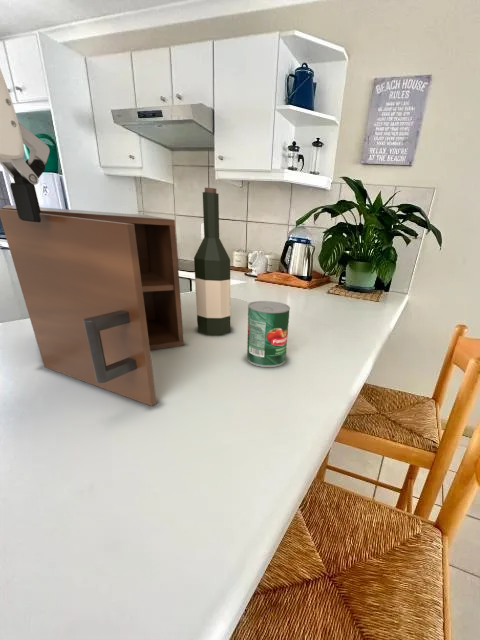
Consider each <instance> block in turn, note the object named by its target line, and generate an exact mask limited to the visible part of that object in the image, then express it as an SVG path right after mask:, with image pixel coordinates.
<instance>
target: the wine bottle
mask: <svg viewBox="0 0 480 640" xmlns="http://www.w3.org/2000/svg"><path fill="white" fill-rule="evenodd" d="M219 204H220V202H219V193H217V188H215V187H204V191H202V213H203V214H202V215H203V238H202V241H201V243H200V245H199V246H198V249H197V251H196V253H195V255H194V257H193V264H194V265H193V266H194V267H193V268H194V284H195V304H196V305H195V306H196V324H197V333H199V334H202V335H205V336H224V335H227V334H230V333H231V259H230V256H229V254H228V252H227V250H226V248H225V247H224V244H223V242H222V240H221V238H220V208H219V207H220V205H219Z"/></svg>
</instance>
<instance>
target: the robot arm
mask: <svg viewBox="0 0 480 640" xmlns="http://www.w3.org/2000/svg"><path fill="white" fill-rule="evenodd" d="M12 100H13V99H12V97H11V94H10V91H9V89H8V85H7V82H6V80H5V76H4V74H3V72H2V69H1V68H0V165H1V166H2V168H3V169H4V170H5V171H6V172H7V173H8V175H10V177H11V178H12V179H13V182H10V185H9V186H10V190H11V194H12V197H13V201H14V205H15V206H16V209H17V213H18V216H19V218H20V219H21V220H23V221H31V222H41V218H40V203H39V198H38V194H37V191H36V185H38V184H39V181H40V180H39V178H40V177H41V176H42V174H43V173H44V172H45V170H46V165H45V164H47V161H48V158H49V155H50V154H51V153H50V151H51V149H50V147H49V146H48V145H47V144H46V143H45V142H43V141H42V140H41V139H40V138H39V137H37V136H36V135H35V134H34V133H33V132H31V131H30V130H29V129H27V127H25V126H24V125H23V124H21V122H20V121H18V116H17V113H16V110H15V106H14V104H13V101H12ZM25 146H26V147H27V148H28V149H29V154H28V155H29V156H28V159H26V160H24V159H23V158H24V156H25Z"/></svg>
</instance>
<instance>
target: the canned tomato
mask: <svg viewBox="0 0 480 640" xmlns="http://www.w3.org/2000/svg"><path fill="white" fill-rule="evenodd" d="M247 307H248V308H247V341H246V344H247V348H246V353H247V354H246V355H247V356H246V361H247V362H248V363H250V364H251V365H253V366H257V367H261V368H277V367H280V366H282V365H284V364H285V363H286V361H287V359H286V357H287V349H288V348H287V347H288V336H289V335H288V332H289V323H290V309H291V307H290V305H288V304H286V303H284V302H279V301H271V300H256V301H251V302H249V303H248V304H247Z"/></svg>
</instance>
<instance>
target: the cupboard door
mask: <svg viewBox="0 0 480 640" xmlns="http://www.w3.org/2000/svg"><path fill="white" fill-rule="evenodd" d="M40 218H41V222H31V221H23V220H21V219H20V218H19V216H18V213H17V211H16V210H7V209H2V208H0V222H1V225H2V228H3V233H4V236H5V239H6V242H7V246H8V249H9V252H10V256H11V259H12V262H13V267H14V269H15V272H16V277H17V281H18V283H19V287H20V290H21V293H22V297H23V299H24V303H25V306H26V310H27V314H28V317H29V320H30V323H31V328H32V331H33V334H34V337H35V340H36V344H37V347H38V351H39V354H40V358H41V360H42V361H41V362H42V364H43V367H44V368H47V369H49V370H52V371H55V372H57V373H59V374H63V375H65V376H69V377H70V378H74V379H76V380H79V381H82V382H85V383H88V384H90V385H93V386H96V387H98V388H100V389H103V390H107V391H109V392H112V393H115V394H117V395H120V396H124V397H126V398H129V399H131V400H134V401H137V402H140V403H142V404H145V405H148V406H150V407H152V406H153V405H156V404H157V403H158V402H157V395H156V387H155V379H154V371H153V364H152V356H151V350H150V346H149V338H148V330H147V323H146V315H145V307H144V299H143V291H142V283H141V275H140V267H139V259H138V251H137V243H136V235H135V227H134V224H128V223H119V222H110V221H102V220H93V219H85V218H76V217H68V216H59V215H50V214H42V213H40Z"/></svg>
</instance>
